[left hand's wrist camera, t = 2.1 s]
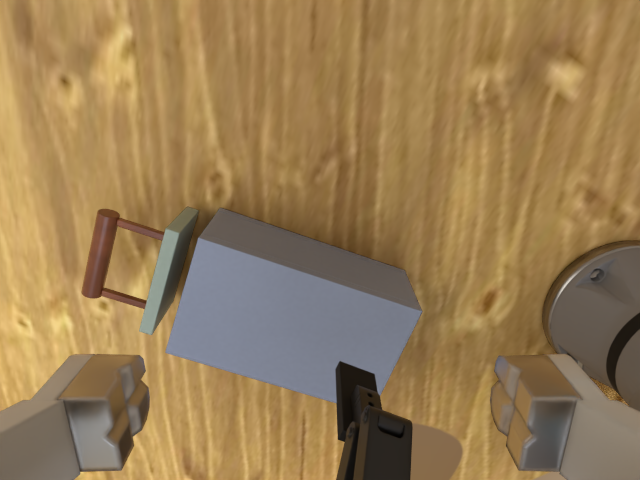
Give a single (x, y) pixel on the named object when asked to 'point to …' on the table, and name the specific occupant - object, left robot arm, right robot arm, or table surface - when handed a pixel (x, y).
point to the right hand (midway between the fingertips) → (316, 440)
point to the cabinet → (290, 308)
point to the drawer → (165, 271)
